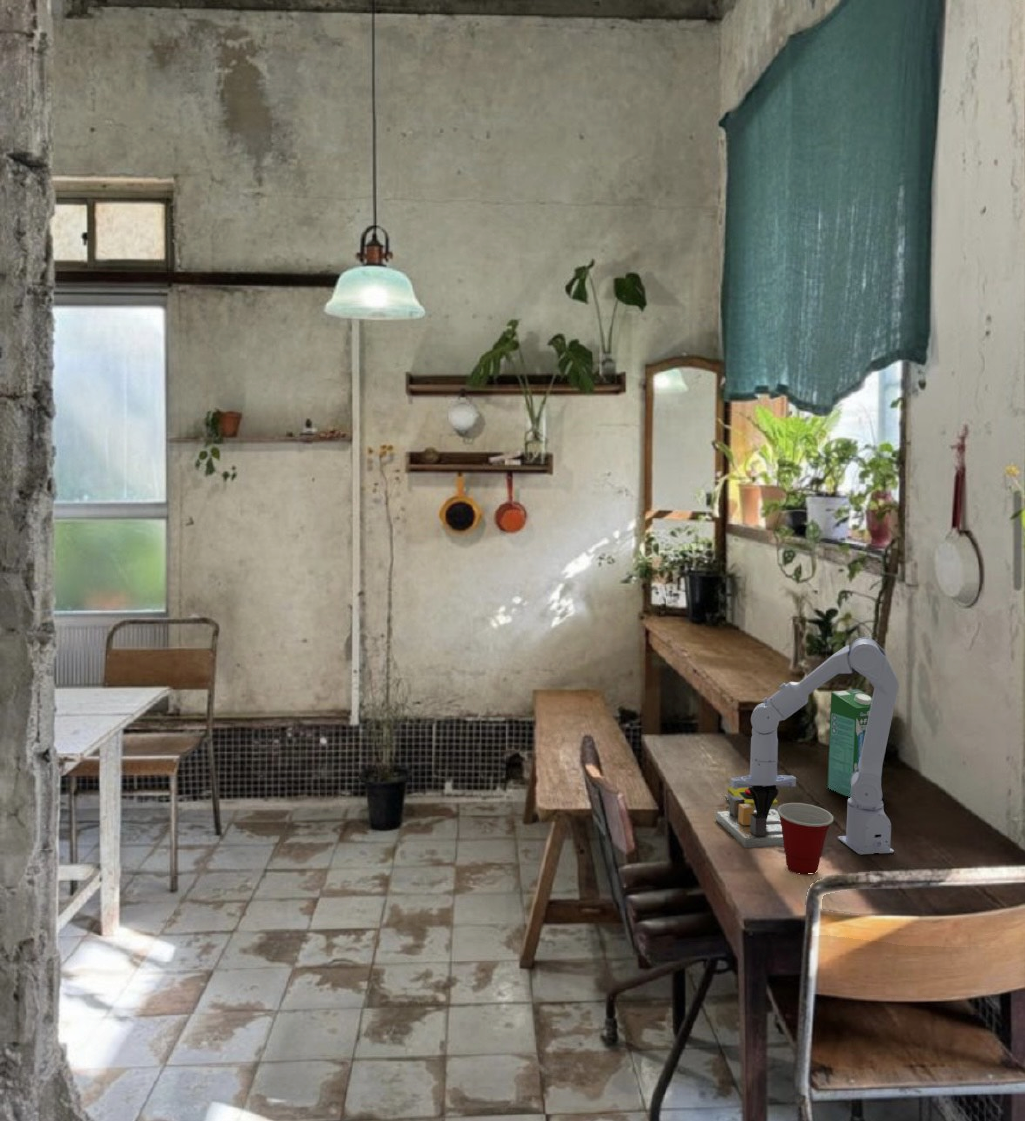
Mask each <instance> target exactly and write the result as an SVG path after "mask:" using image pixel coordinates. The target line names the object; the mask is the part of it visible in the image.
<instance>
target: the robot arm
mask: <svg viewBox="0 0 1025 1121" xmlns="http://www.w3.org/2000/svg"><path fill="white" fill-rule="evenodd" d="M853 670H854V671H856V672H857V673H858V674H860V675H862V676H864V677H865V678H866V680H868V682H869V683H870V684H871V685H872V687H873V693H872V696H871V697H872V702H871V707H870V712H869V717H868V722H867V727H866V732H865V737H864V742H863V747H862V752H861V756H860V759H859V763H858V767H857V769H856V770H855V771H854V773H853V774H852V776H851V779H850V783H851V790H850V794H851V797H850V798H849V797H848V799H847V803H846V805H847V806H846V807H847V808H846V830H845V835H840V836H837V839H838V840H839V841H841V842H842V843H843V844H844V845H846V846H847V847H848V848H850V850H852V851H854V852H855V853H856V854H858V855H874V853H879V854H894V853H895V850H894V849H893V848H891V838H892V837H891V835H892V823H891V820H890V819H889V817H888V816H887V815H886V813H885V811H884V809H885V808H884V801H883V800H882V799H883V791H882V775H881V774H883V764H884V759H885V754H886V750H887V749H886V748H887V744H888V738H889V734H890V729H891V725H892V721H893V715H894V711H895V706H896V701H897V695H898V690H899V679H898V677H897V675H896V673H895V671H894V667H892V664H891V663H890V660H889V657H888V656H887V653H886V651H885V650H884V649H883V647H881V646H880V645H879V644H878V643H877V641H876V640H874V639H872V638H869V637H866V636H865V637H860V638H857V639H854V641H853V642H851V644H850V645H849V644H847V645H845V646H844V647H842V648H841V649H840V650H838V651H836V652H835V653H833V654H832V655H831V656H830V657H829V658H827V659H826V660H825V661H824V662H822V663H821V664H820V665H819V666H817V667H816V668H815V669H814V670H813V671H811V672H810V673H808V675H807V676H805V677H804V678H803V679H802V680H800V681H798V682H796V681H789V682H787V683H785V682H783V683H782V684H780V685H779V690H777V691H776V692H775V693H773V694H772V695H771V696H770V697H767V696H766V697H765V698H763V699H762V703H758V704H756V706H755V707H754V709H753V711H752V713H751V716H750V724H751V727H752V729H751V734H752V736H751V737H750V765H749V775H744V776H739V777H738V776H737V777H731V778H730V780H729V781H730V782H729V788H733V789H738V788H748V789H749V791H750V793H751V795H752V798H753V800H754V803H755V807H756V811H757V814H762V815H764V816H765V817H766V818H767V817H768V813H769V810H770V808H771V805H772V803H773V801H774V799H776V798H777V796H778V795H779V789H778V788H777V787H789V786H790V787H791V788H792V787H793V788H795V787H797V778H796V777H795V776H794V775H784V774H781V775H780V774H778V755H779V754H778V747H779V739H778V727H779V723H780V722H781V721H785V720H787V719H788V718H790V717H791V716H792V715H793V714H794V713H797V712H798V711H799V710H800V709H802V708H803V707H804V706H805V705H807V704H808V703H809V695H810V694H811V693H813V692H814V691H815V690H817V689H818V688H820V687H821V686H823V685H825V684H826V682H828V681H830V680H831V679H833V678H834V677H835V676H837V675H839V674H853ZM893 852H894V853H893Z"/></svg>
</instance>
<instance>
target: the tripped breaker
mask: <svg viewBox="0 0 1025 1121" xmlns="http://www.w3.org/2000/svg"><path fill="white" fill-rule="evenodd" d="M751 814H754V807H752V806H751V805H750V804H739V812H738V821H739V822H740V823H741V824H742V825H750V821H751Z"/></svg>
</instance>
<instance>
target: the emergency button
mask: <svg viewBox="0 0 1025 1121" xmlns="http://www.w3.org/2000/svg"><path fill="white" fill-rule="evenodd" d="M724 796H727V799H728V800H729V801H728V800H727V799H726V800H727V801H728V802H729V803H730V796H741V797H742V798H743V799H744V800H745V804H750V805H751V806H752V807H754V810H756V807H755V803H754V800H753V798H752V795H751V793H750V791H749V789H748V788H738V789H733V788H731V787H728V788H727V794H725V795H724ZM778 807H779V805H778V800H777V799H776V798H775V799H774V801H773V803H772V805H771V808H770V809H775V810H776V811H777V810H778ZM777 812H778V811H777Z"/></svg>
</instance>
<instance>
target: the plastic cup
mask: <svg viewBox="0 0 1025 1121" xmlns="http://www.w3.org/2000/svg"><path fill="white" fill-rule="evenodd" d="M777 811H778V814H779V816H780V821H781V826H782V834H783V842H784V846H783V849H784V850H783V851H784V853H785V860H786V861H785V862H786V866H787V869H788V870H789V871H790V872H791V871H792V873H793V872H794V873H793V874H797V873H800V874H799V875H802V874H808V873H815V872H816V871H818V870H819V866H820V861H821V857H822V853H823V849H824V845H825V840H826V836H827V833H828V831H829V828H830V825H832V823H833V822H834V815H833V814H831V812H829V811H828V810H826V809H824V808H822V807H820V806H816V805H813V804H808V803H803V802H789V803H788V802H787V803H782V804H781V805H778V810H777ZM816 873H817V872H816ZM816 873H815V874H816Z"/></svg>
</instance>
